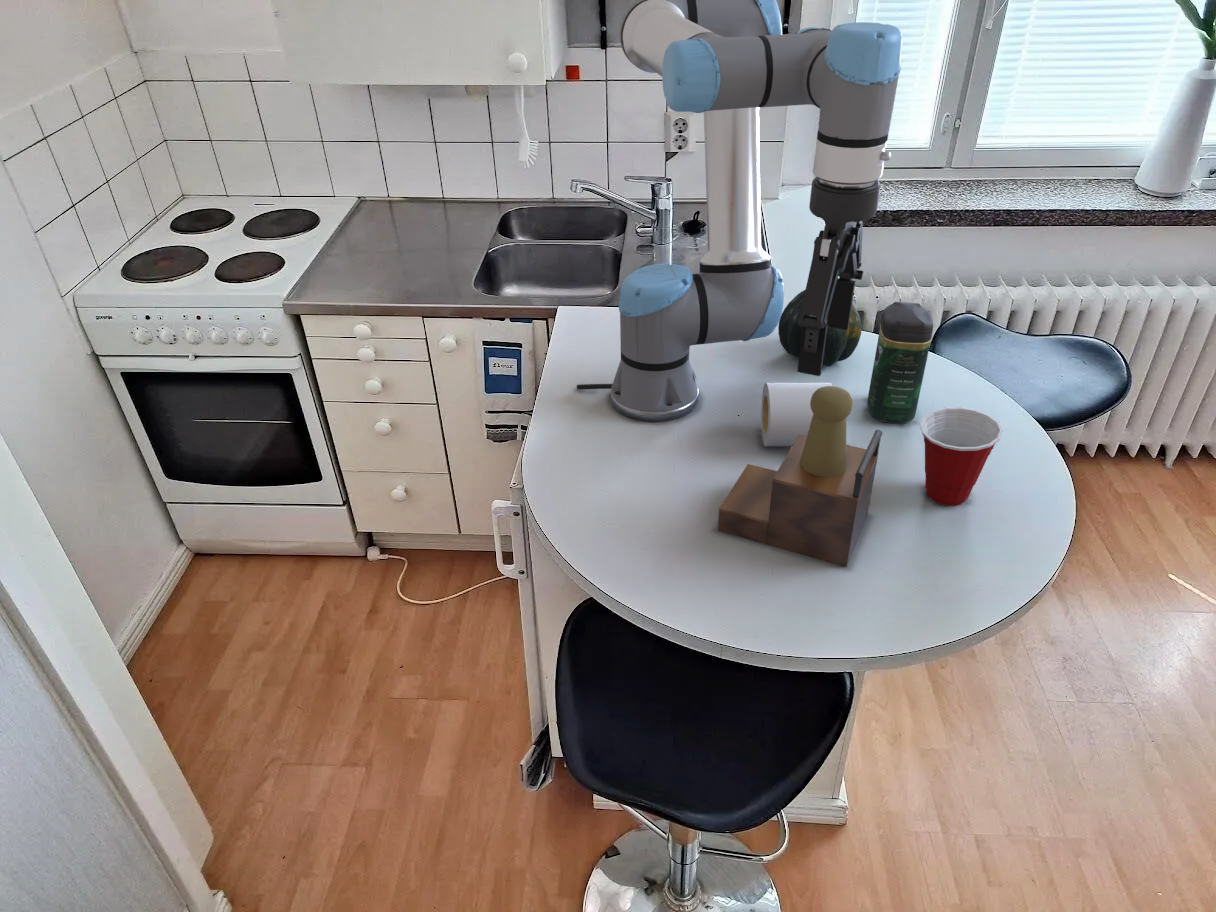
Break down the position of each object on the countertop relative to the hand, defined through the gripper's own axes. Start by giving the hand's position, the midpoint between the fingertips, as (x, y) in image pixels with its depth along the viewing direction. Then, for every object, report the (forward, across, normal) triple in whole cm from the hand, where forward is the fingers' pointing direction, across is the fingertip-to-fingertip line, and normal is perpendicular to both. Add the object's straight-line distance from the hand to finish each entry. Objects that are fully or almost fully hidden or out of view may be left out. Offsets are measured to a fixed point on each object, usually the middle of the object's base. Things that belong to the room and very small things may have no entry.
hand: (823, 349), depth 109 cm
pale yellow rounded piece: (+16, -2, -2) cm, 16 cm away
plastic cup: (+27, +13, -18) cm, 35 cm away
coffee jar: (+27, +34, -6) cm, 44 cm away
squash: (+27, +50, +11) cm, 58 cm away
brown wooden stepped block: (+26, -2, 0) cm, 27 cm away
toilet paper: (+27, +18, +6) cm, 33 cm away
